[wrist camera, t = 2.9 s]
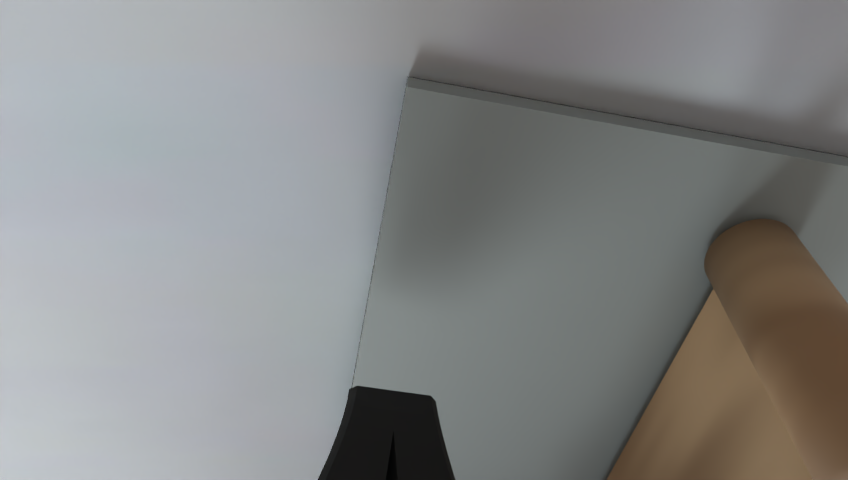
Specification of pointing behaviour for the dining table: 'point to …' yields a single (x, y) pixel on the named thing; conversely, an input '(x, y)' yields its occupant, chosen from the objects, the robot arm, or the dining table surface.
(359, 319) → the dining table surface
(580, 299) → the board
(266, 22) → the dining table surface
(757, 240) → the fence gate
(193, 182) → the dining table surface
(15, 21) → the dining table surface
